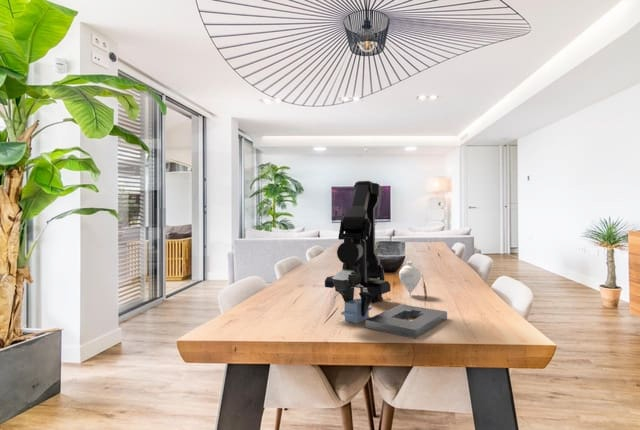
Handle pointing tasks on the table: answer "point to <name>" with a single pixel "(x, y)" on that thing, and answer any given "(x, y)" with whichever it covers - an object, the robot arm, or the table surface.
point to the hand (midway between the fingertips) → (356, 314)
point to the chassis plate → (396, 325)
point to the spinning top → (409, 276)
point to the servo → (354, 311)
